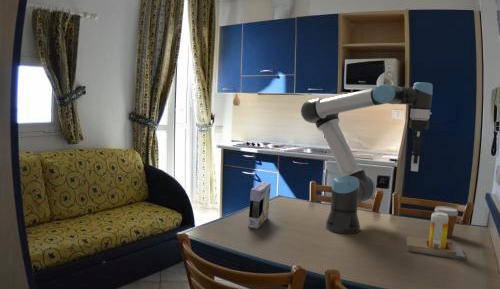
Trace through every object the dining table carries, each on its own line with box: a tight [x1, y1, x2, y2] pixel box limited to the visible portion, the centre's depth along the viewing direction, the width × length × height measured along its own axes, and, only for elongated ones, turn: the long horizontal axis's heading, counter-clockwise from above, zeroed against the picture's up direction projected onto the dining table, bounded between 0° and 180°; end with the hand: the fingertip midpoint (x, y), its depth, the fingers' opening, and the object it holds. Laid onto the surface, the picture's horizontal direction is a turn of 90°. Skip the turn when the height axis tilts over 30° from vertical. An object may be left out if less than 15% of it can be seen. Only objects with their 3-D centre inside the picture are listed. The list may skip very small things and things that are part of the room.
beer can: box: [428, 211, 449, 249], centre depth 153 cm, size 6×6×15 cm
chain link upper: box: [406, 235, 456, 255], centre depth 154 cm, size 17×12×2 cm
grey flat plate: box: [421, 243, 466, 261], centre depth 153 cm, size 15×12×1 cm
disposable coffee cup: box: [434, 205, 459, 238], centre depth 174 cm, size 10×10×12 cm
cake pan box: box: [247, 181, 272, 230], centre depth 179 cm, size 19×5×18 cm, turn 162°
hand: (414, 168), depth 167 cm, fingers open, 13 cm apart
